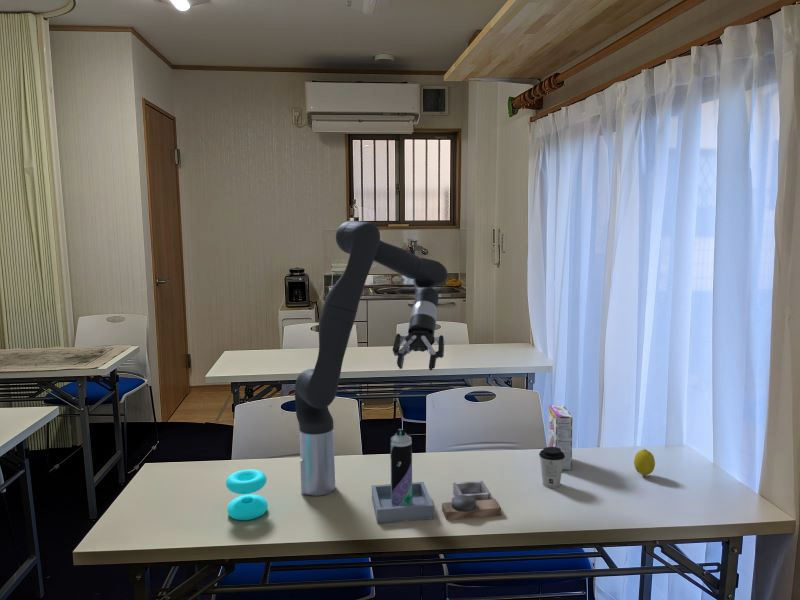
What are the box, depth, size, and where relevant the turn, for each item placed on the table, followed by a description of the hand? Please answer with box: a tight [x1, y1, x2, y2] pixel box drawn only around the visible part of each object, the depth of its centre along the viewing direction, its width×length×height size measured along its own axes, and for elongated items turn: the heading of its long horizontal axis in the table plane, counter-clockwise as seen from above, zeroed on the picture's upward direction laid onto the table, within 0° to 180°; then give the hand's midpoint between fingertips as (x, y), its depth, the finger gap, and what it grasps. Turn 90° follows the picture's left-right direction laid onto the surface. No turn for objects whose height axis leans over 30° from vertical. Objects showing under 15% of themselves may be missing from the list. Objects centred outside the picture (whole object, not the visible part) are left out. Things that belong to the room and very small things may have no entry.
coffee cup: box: [538, 446, 565, 489], centre depth 174 cm, size 7×7×10 cm
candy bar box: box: [547, 404, 573, 471], centre depth 188 cm, size 11×5×16 cm, turn 179°
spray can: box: [389, 428, 413, 507], centre depth 161 cm, size 6×6×20 cm
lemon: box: [633, 448, 656, 477], centre depth 179 cm, size 6×6×8 cm
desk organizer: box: [441, 480, 502, 521], centre depth 163 cm, size 14×15×4 cm
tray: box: [371, 481, 435, 524], centre depth 162 cm, size 14×14×4 cm
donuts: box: [225, 468, 269, 521], centre depth 160 cm, size 10×10×10 cm
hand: (415, 368), depth 174 cm, fingers open, 8 cm apart
